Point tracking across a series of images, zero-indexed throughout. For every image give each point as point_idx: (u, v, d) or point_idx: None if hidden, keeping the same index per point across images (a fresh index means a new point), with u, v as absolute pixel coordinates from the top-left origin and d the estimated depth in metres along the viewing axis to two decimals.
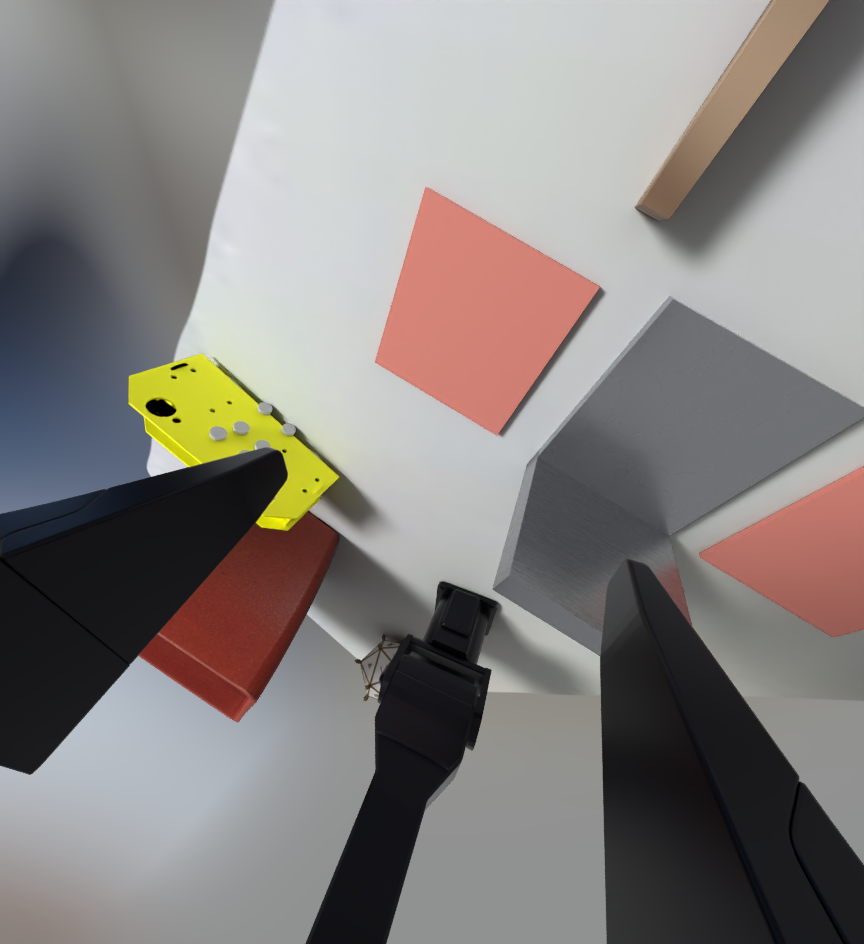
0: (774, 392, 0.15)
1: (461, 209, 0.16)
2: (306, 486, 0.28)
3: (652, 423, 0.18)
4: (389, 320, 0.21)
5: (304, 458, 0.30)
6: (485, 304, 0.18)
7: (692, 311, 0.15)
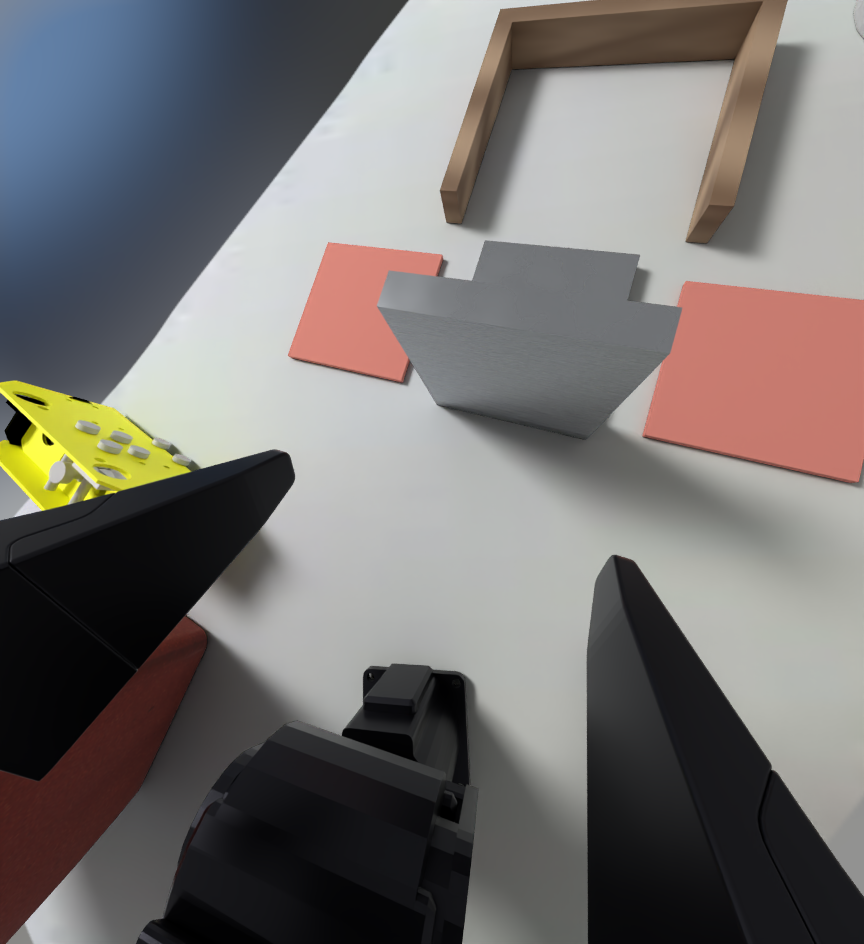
0: (576, 264, 0.21)
1: (350, 245, 0.26)
2: None
3: None
4: (302, 319, 0.26)
5: None
6: (372, 286, 0.25)
7: (499, 242, 0.23)
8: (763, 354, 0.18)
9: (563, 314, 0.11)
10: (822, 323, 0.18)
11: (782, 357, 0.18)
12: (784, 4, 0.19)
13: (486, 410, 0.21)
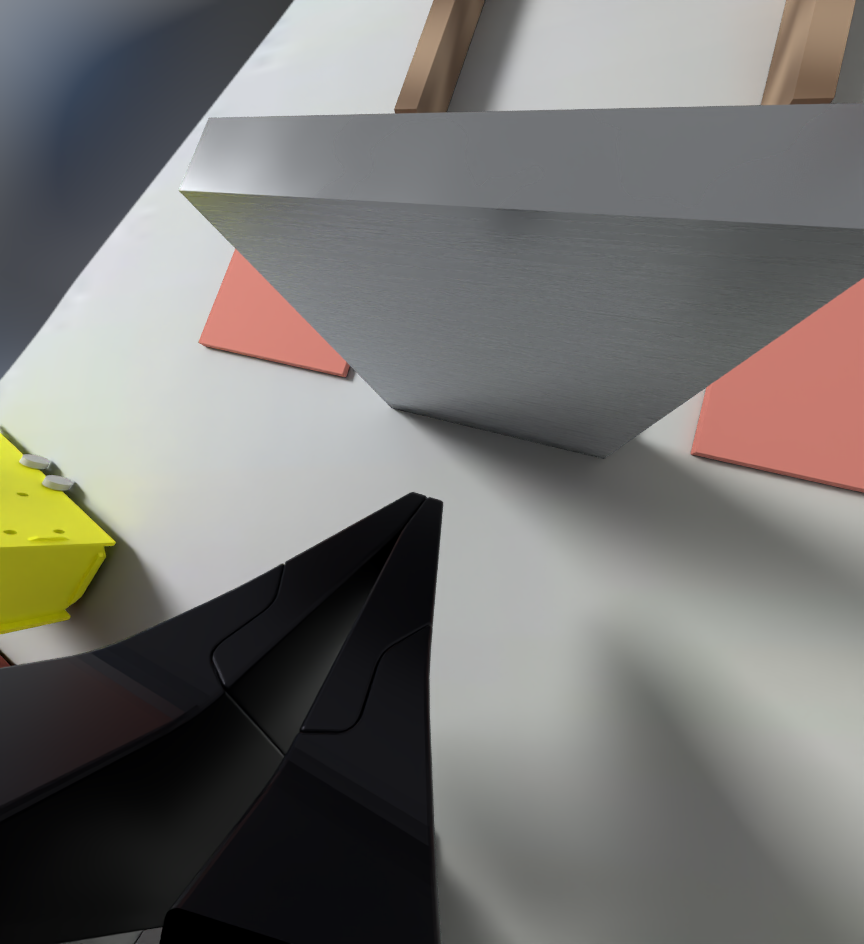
0: None
1: None
2: (21, 529, 0.15)
3: None
4: (219, 295, 0.20)
5: (57, 510, 0.18)
6: None
7: None
8: None
9: (588, 159, 0.04)
10: None
11: None
12: None
13: (457, 415, 0.14)
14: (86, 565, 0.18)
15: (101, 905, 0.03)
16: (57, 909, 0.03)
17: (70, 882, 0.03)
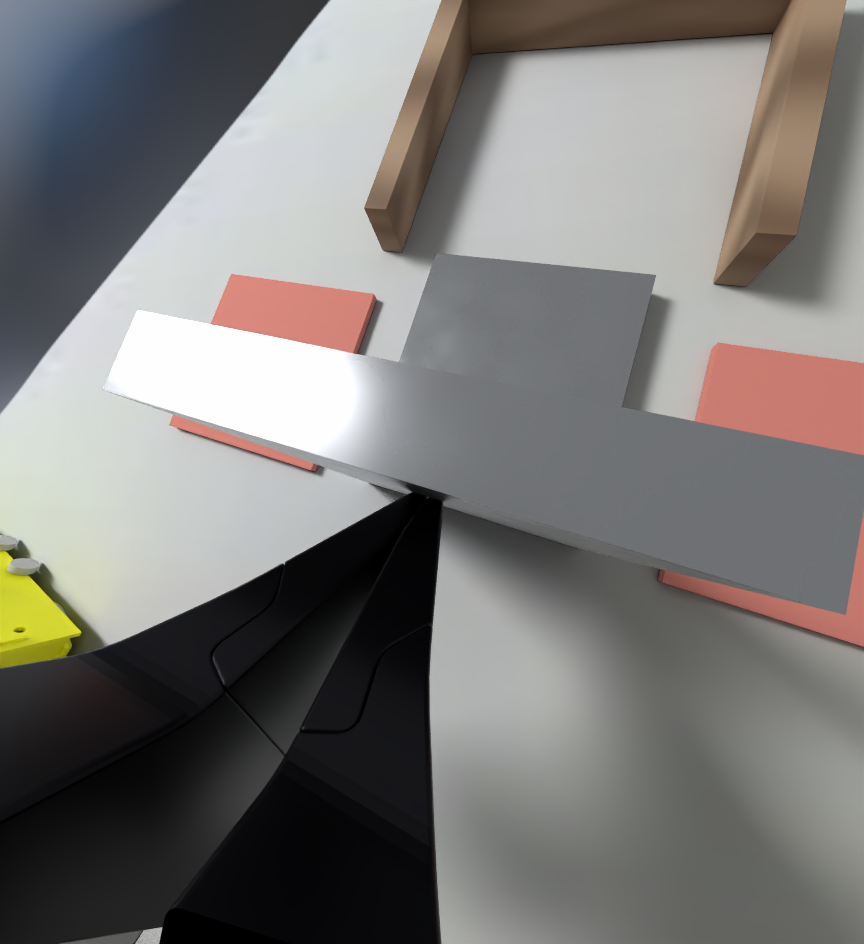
0: (563, 288, 0.15)
1: (258, 278, 0.19)
2: None
3: (477, 356, 0.15)
4: None
5: (21, 601, 0.17)
6: (282, 334, 0.18)
7: (455, 256, 0.16)
8: None
9: (504, 444, 0.04)
10: None
11: None
12: None
13: None
14: (50, 658, 0.17)
15: (101, 905, 0.03)
16: (57, 909, 0.03)
17: (70, 882, 0.03)
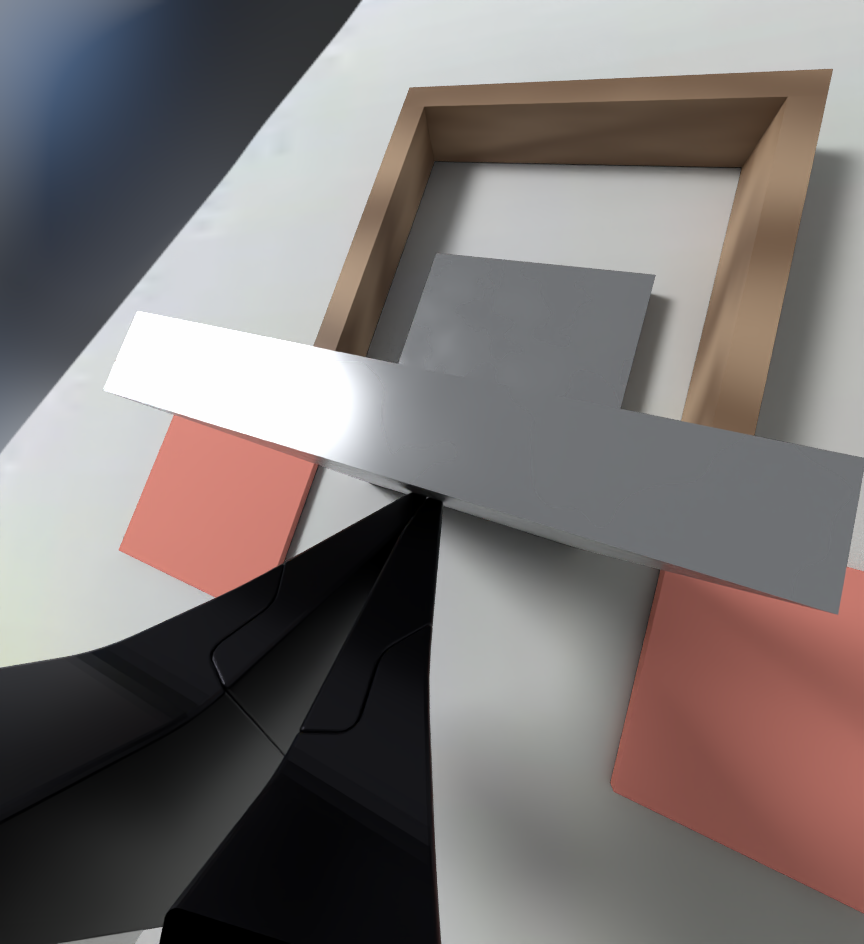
0: (563, 288, 0.15)
1: None
2: None
3: (477, 356, 0.15)
4: (142, 497, 0.19)
5: None
6: (234, 461, 0.18)
7: (455, 256, 0.16)
8: (808, 676, 0.11)
9: (500, 446, 0.04)
10: None
11: (842, 689, 0.11)
12: (822, 103, 0.12)
13: None
14: None
15: (101, 905, 0.03)
16: (57, 908, 0.03)
17: (70, 881, 0.03)
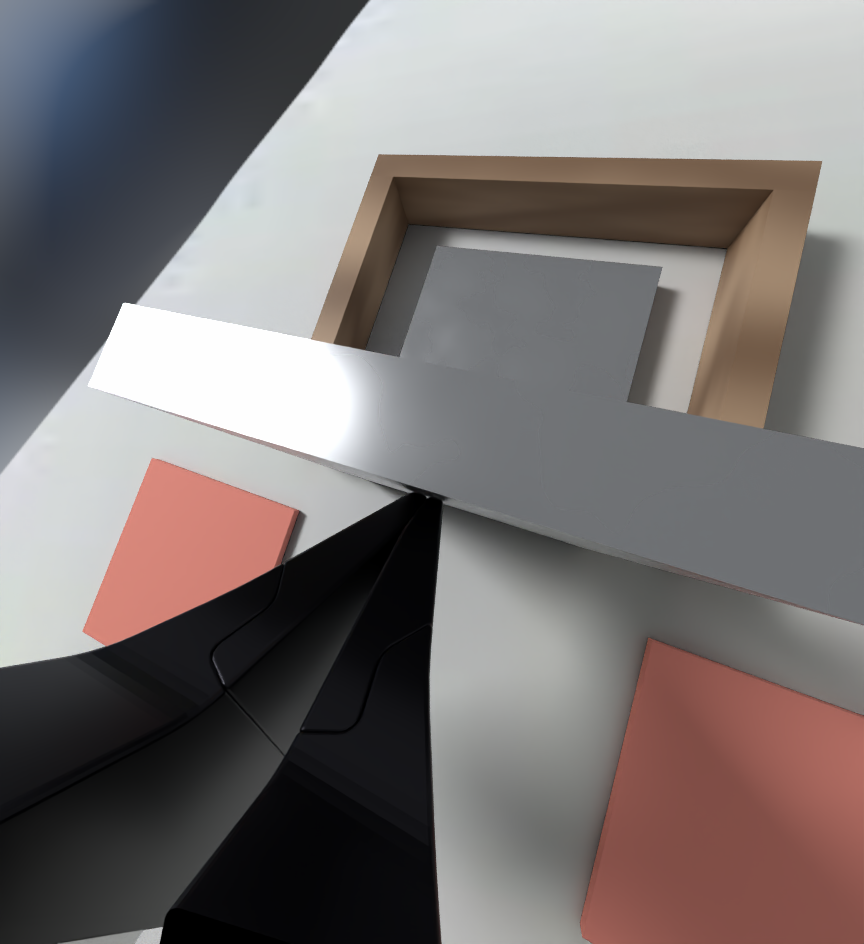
0: (567, 281, 0.14)
1: (178, 468, 0.18)
2: None
3: (478, 351, 0.15)
4: (106, 576, 0.18)
5: None
6: (199, 542, 0.17)
7: (456, 248, 0.16)
8: (788, 825, 0.10)
9: (506, 444, 0.04)
10: None
11: (824, 842, 0.10)
12: (810, 200, 0.11)
13: None
14: None
15: (101, 905, 0.03)
16: (57, 909, 0.03)
17: (70, 882, 0.03)
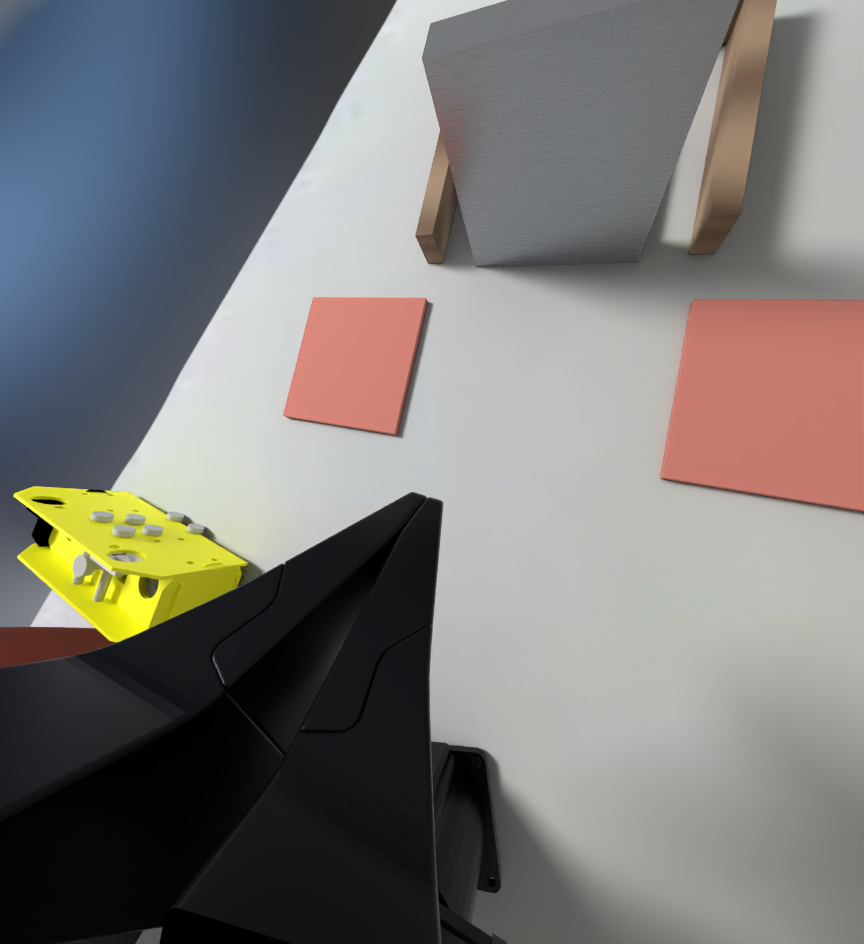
0: None
1: (334, 298, 0.26)
2: (194, 560, 0.22)
3: None
4: (294, 378, 0.26)
5: (205, 546, 0.25)
6: (359, 338, 0.24)
7: None
8: (795, 375, 0.16)
9: None
10: None
11: (820, 377, 0.16)
12: None
13: (529, 249, 0.20)
14: (231, 582, 0.24)
15: (101, 905, 0.03)
16: (57, 909, 0.03)
17: (70, 882, 0.03)
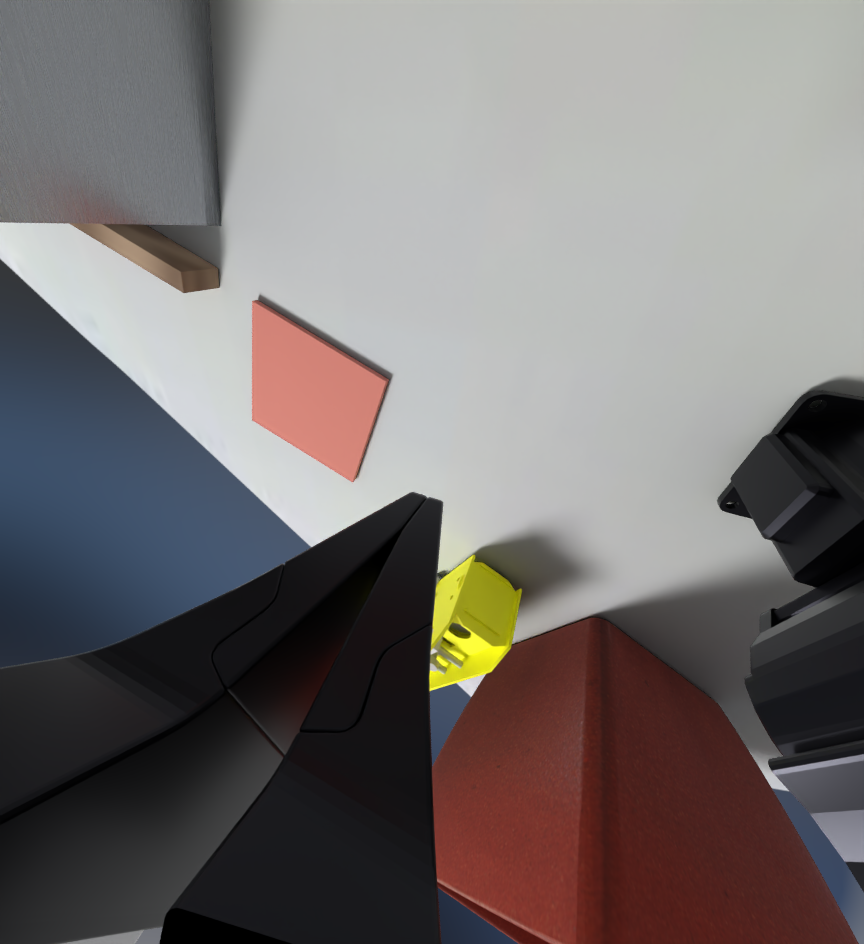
0: None
1: (252, 400, 0.26)
2: (452, 593, 0.25)
3: None
4: (321, 461, 0.27)
5: (448, 581, 0.27)
6: (289, 388, 0.24)
7: None
8: None
9: None
10: None
11: None
12: None
13: (192, 136, 0.16)
14: (486, 572, 0.26)
15: (101, 905, 0.03)
16: (57, 909, 0.03)
17: (70, 882, 0.03)
